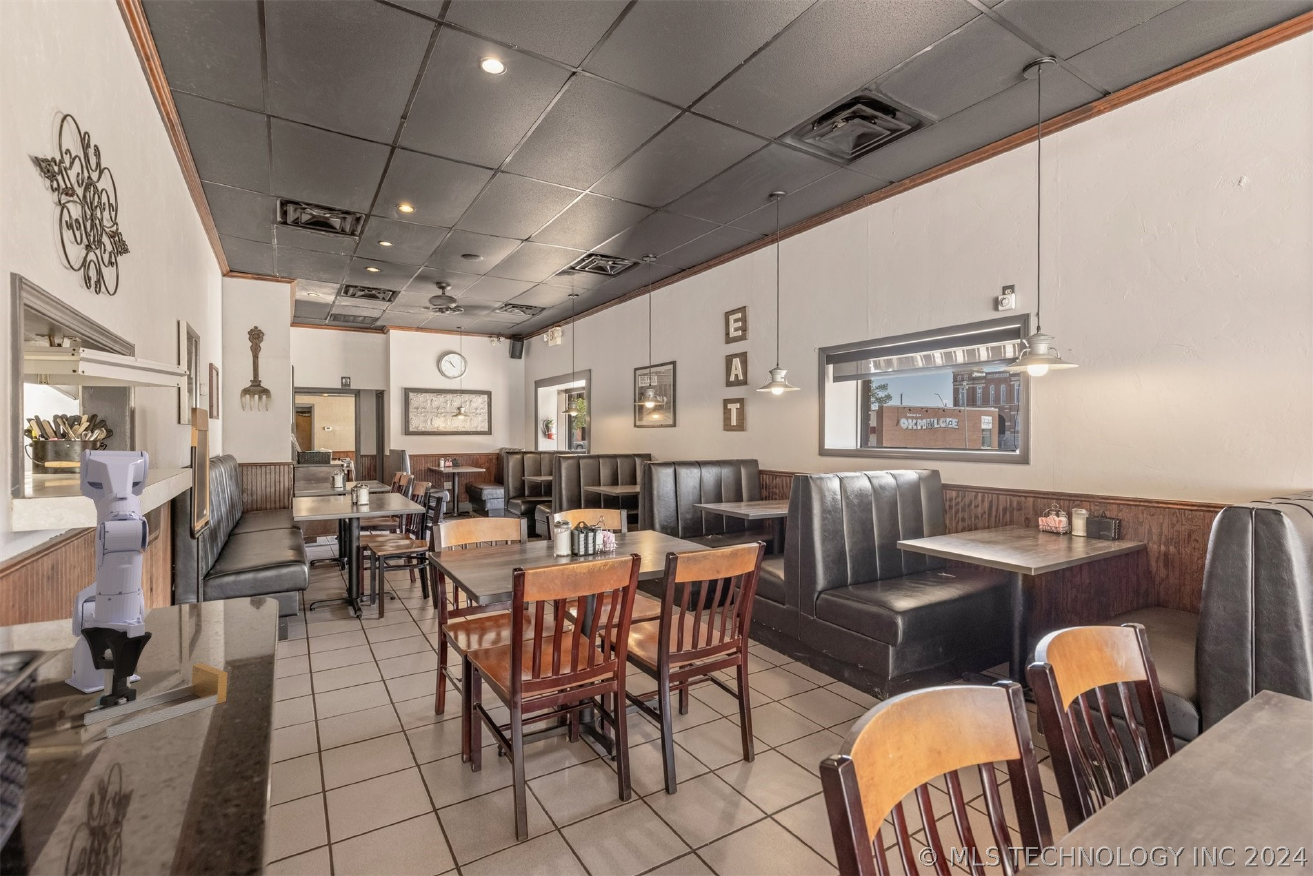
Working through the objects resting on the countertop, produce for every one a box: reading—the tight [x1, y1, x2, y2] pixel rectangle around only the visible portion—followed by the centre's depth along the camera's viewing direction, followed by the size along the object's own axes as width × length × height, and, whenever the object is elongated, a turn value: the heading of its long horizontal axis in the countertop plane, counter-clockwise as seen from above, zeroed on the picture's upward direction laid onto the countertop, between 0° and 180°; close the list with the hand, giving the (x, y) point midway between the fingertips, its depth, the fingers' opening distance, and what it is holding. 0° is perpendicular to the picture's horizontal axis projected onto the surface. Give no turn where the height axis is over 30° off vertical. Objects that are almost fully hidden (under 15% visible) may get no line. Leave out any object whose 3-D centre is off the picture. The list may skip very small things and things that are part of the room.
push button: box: [88, 649, 137, 711], centre depth 102 cm, size 7×5×10 cm
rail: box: [83, 662, 228, 739], centre depth 102 cm, size 9×16×5 cm, turn 152°
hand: (113, 672), depth 102 cm, fingers open, 7 cm apart
